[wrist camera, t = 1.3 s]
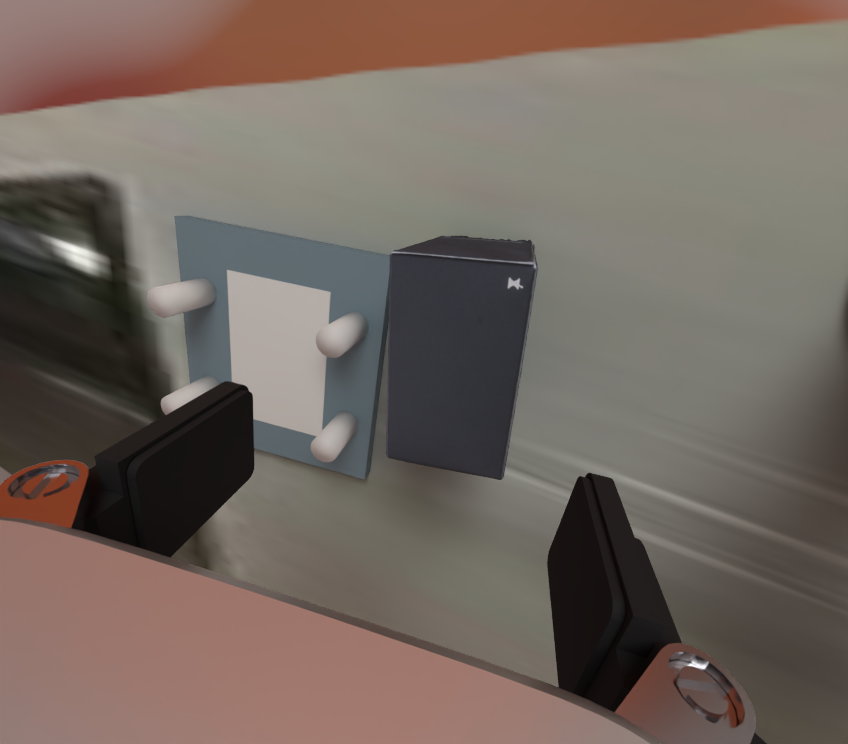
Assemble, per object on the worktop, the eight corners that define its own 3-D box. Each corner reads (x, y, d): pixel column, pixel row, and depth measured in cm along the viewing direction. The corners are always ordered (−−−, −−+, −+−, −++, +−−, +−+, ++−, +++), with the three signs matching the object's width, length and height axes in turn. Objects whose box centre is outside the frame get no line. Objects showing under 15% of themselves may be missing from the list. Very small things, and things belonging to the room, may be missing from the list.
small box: (432, 232, 26) (381, 244, 16) (536, 240, 24) (547, 257, 15) (424, 381, 30) (379, 461, 20) (512, 394, 28) (508, 485, 19)
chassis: (396, 256, 27) (369, 266, 22) (369, 471, 34) (345, 512, 29) (187, 216, 29) (122, 216, 24) (204, 424, 36) (157, 456, 31)
